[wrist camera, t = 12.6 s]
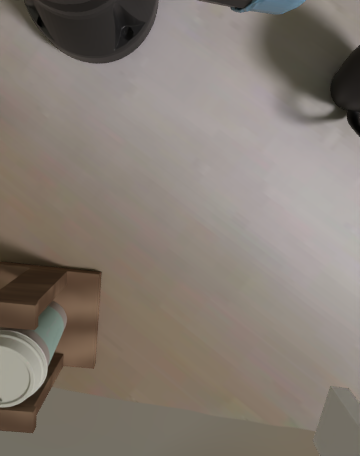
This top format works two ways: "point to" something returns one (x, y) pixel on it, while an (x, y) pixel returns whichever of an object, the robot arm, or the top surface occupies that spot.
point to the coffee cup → (28, 355)
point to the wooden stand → (28, 319)
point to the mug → (349, 89)
